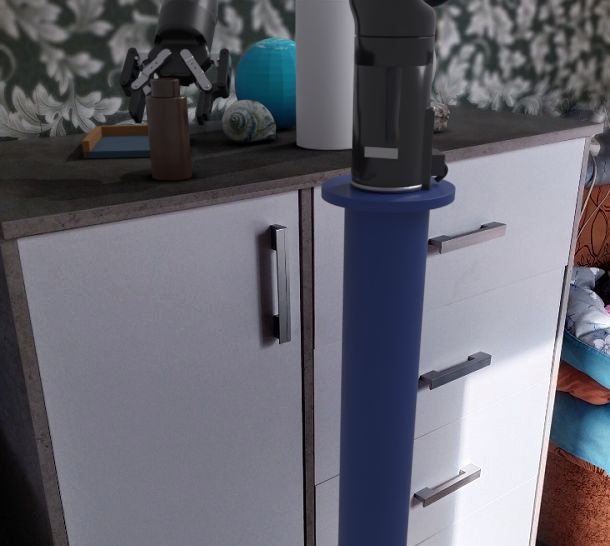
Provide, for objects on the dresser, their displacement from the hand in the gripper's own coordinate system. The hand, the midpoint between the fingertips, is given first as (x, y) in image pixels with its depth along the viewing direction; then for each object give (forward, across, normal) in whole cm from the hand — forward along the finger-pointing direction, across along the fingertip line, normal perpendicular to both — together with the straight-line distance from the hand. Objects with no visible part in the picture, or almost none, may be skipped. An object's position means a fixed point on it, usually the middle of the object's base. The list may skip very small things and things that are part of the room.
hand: (168, 120), depth 98 cm
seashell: (-14, +4, +25) cm, 29 cm away
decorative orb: (-24, +6, +35) cm, 43 cm away
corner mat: (-9, -12, +19) cm, 24 cm away
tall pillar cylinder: (-14, +18, +24) cm, 33 cm away
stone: (-25, +30, +35) cm, 52 cm away
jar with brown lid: (+5, 0, +5) cm, 7 cm away
